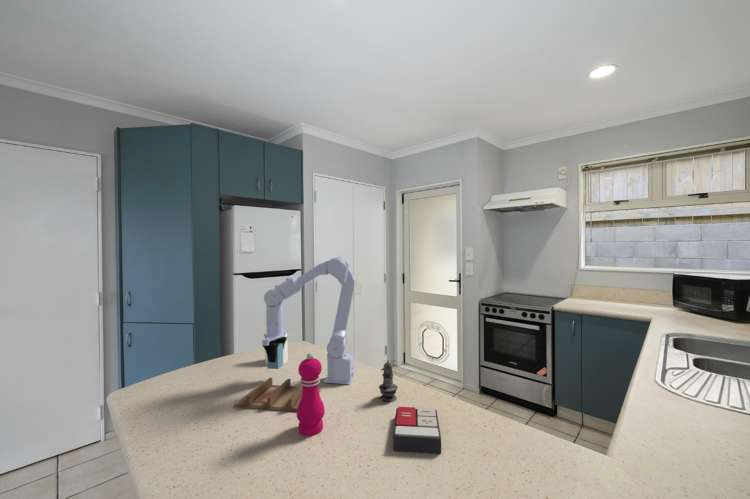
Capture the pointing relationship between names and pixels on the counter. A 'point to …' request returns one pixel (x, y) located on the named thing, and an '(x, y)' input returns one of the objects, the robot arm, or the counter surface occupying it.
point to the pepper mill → (310, 397)
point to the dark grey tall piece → (388, 384)
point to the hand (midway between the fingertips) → (275, 359)
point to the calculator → (416, 430)
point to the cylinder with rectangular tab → (285, 352)
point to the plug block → (279, 359)
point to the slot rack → (273, 397)
